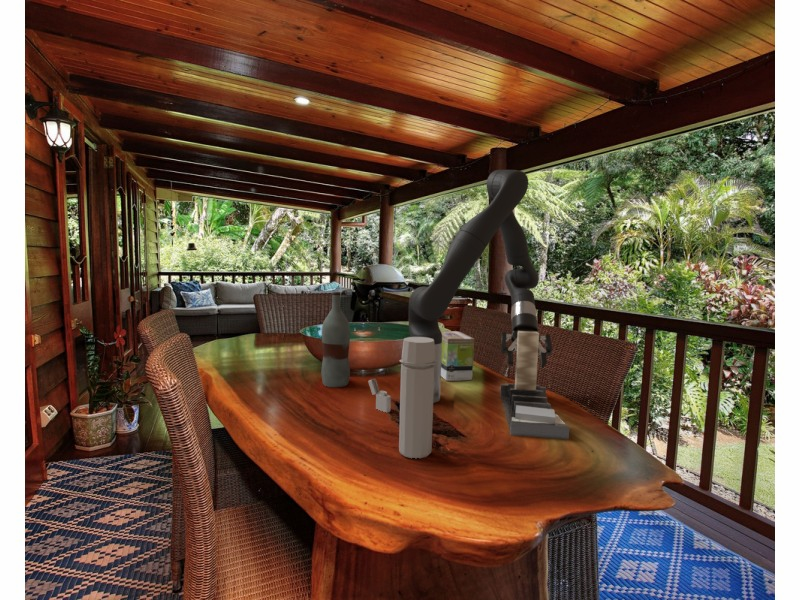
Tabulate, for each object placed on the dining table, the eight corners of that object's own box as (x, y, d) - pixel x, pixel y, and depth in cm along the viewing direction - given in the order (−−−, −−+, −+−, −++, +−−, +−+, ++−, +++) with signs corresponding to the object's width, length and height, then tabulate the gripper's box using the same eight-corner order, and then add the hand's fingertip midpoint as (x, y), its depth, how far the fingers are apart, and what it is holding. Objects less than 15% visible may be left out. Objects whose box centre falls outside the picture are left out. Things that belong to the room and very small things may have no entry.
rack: (510, 441, 106) (511, 418, 105) (499, 398, 136) (500, 380, 136) (568, 445, 104) (569, 422, 104) (544, 401, 135) (545, 383, 134)
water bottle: (430, 462, 94) (434, 344, 91) (393, 458, 96) (396, 341, 93) (436, 444, 103) (439, 336, 100) (402, 440, 105) (405, 333, 102)
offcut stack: (514, 434, 106) (515, 415, 106) (511, 422, 114) (512, 404, 113) (565, 438, 105) (566, 419, 104) (558, 425, 112) (559, 408, 112)
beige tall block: (515, 401, 129) (518, 332, 127) (514, 398, 132) (517, 330, 130) (535, 403, 129) (539, 333, 127) (533, 399, 132) (537, 331, 129)
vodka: (330, 389, 141) (330, 293, 138) (315, 382, 148) (316, 291, 145) (355, 384, 147) (356, 292, 144) (340, 378, 154) (341, 290, 151)
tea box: (473, 380, 156) (475, 337, 154) (445, 381, 153) (447, 338, 152) (457, 369, 170) (459, 330, 168) (432, 370, 168) (433, 330, 166)
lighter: (390, 411, 124) (391, 382, 123) (386, 412, 122) (387, 384, 122) (371, 405, 128) (372, 377, 127) (367, 406, 127) (368, 378, 126)
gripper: (501, 311, 136) (502, 357, 126) (550, 313, 134) (555, 360, 124) (499, 325, 142) (500, 370, 132) (546, 327, 140) (551, 373, 130)
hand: (527, 365), depth 128 cm, fingers open, 8 cm apart
